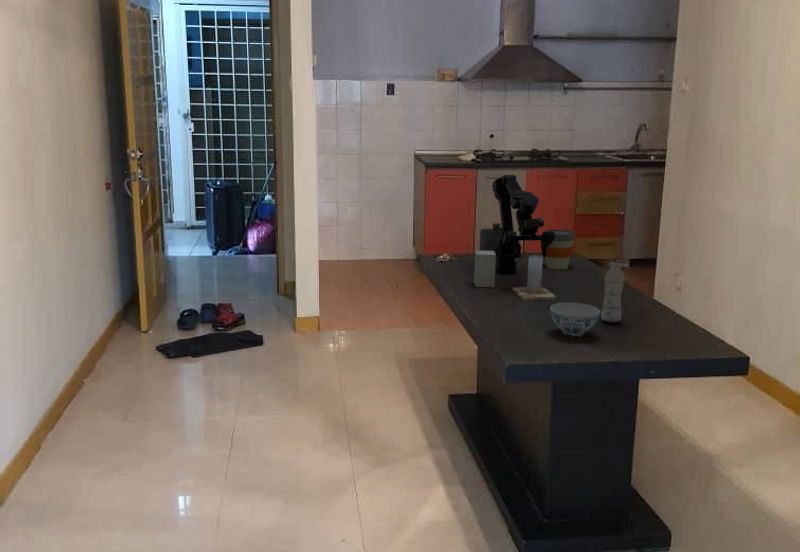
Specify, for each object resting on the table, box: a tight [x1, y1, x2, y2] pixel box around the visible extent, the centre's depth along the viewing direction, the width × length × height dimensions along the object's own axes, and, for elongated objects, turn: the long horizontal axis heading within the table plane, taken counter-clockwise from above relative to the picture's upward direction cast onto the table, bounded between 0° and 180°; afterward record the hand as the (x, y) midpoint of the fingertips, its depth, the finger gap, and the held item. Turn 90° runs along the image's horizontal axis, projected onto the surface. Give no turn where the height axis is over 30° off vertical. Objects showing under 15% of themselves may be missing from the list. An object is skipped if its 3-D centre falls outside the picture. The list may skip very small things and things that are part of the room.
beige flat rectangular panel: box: [511, 285, 557, 301], centre depth 286 cm, size 15×12×1 cm
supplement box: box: [473, 250, 496, 288], centre depth 297 cm, size 7×7×13 cm
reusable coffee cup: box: [545, 228, 575, 271], centre depth 327 cm, size 13×13×15 cm
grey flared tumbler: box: [526, 254, 544, 293], centre depth 284 cm, size 5×5×13 cm
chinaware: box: [549, 302, 601, 337], centre depth 241 cm, size 15×15×8 cm
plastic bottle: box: [600, 259, 626, 323], centre depth 252 cm, size 6×7×20 cm
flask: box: [478, 222, 502, 267], centre depth 327 cm, size 4×14×18 cm, turn 106°
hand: (532, 257), depth 286 cm, fingers open, 9 cm apart
